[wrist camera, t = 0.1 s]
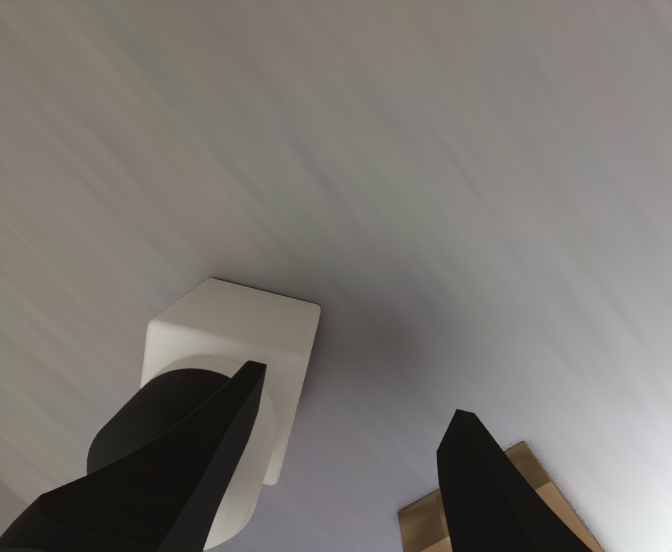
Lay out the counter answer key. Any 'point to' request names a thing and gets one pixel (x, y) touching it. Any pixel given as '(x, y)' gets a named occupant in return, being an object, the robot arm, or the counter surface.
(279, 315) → the medicine bottle
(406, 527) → the hole block
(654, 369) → the counter surface
